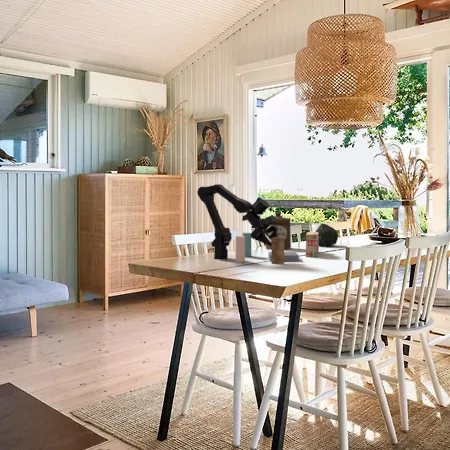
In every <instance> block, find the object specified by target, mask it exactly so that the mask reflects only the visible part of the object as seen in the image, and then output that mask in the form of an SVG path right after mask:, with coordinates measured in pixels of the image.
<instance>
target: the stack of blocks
mask: <svg viewBox="0 0 450 450" xmlns="http://www.w3.org/2000/svg"><path fill="white" fill-rule="evenodd" d="M319 247H320V246H319V237H318V232H316V231H315V232H312V231H310V232H309V231H308V232H306V234H305V257H306V258H318V257H319V249H320V248H319Z"/></svg>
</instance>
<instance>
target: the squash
mask: <svg viewBox="0 0 450 450" xmlns="http://www.w3.org/2000/svg"><path fill="white" fill-rule="evenodd" d="M315 232H318V237H319V247H325V246H327V247H329V246H330V247H332V246H334V245H336V244H337V242H338V238H339V234H338V231H337V230H336V229H335V228H333V227H332V226H330V225H328V224H326V223H323V222H322V223H320V225H319V227H317V228H316V230H315Z"/></svg>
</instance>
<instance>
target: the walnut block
mask: <svg viewBox="0 0 450 450" xmlns="http://www.w3.org/2000/svg"><path fill="white" fill-rule="evenodd" d="M271 252H272V261H271V264H272V265H283V264H285V261H284V252H285V250H284V238H283V237H274V238H272V250H271Z"/></svg>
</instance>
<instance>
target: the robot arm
mask: <svg viewBox="0 0 450 450" xmlns="http://www.w3.org/2000/svg"><path fill="white" fill-rule="evenodd" d="M196 193H197V196H198V198H199V199H200V201H201V202H202V203H203V204H204V205H205V207H206V210H207V212H208V215H209V217H210V220H211V223H212V226H213V228H214V239H213V240H212V241H211V243H210V244H211V247H212V248H213V247H214V251H213V252H214V254H213V255H214V257H213V259H214V260H215V259H216V260H217V259H218V260H219V259H221V260H224V259H225V260H227V258H228V253H229V252H228V251H229V250H228V248H227V247H229V245H230V243H231V242H232V238H233V237H232V235H233V234H232V232H231V230H230V227H226V226H225V225H224V223H223V220H222V218H221V215H220V213H219V211H218V208H217V206H216V203H215V195H216V194H217V195H219V196H221V197H222V198H223V199H225V200H226V201H227V202H229V203H230V204H231V205H232V206H233V209H235V210H236V212H237V213H238V214H242V217H241V218H242V219H241V220H242V222H245V221H247V222H248V223H249V224H250V225H251V226H250V227H251V229H253V230H252V232H250V233H251V240H255V241H257V242H259V243H261V244H262V243H263V244H264V245H265V246H266V245H268V246H271V243H270V241H269V240H268V238H270V239H271V240H272V238H274V237H278V235H277V231H278V229H279V228H278V227H277V226H276V225H273V226H270V224H272V223H274V222H276V217H275V216H276V215H274V214H271V215H269V216H267V217H265V218H262V217H260V216H259V215H261V216H262V215H264V213H265V212H266V211H267V210H268V208H270V204H269V202H268V201H266V200H265V199H263V198H262V197H257V199H256V200H255V201H254V203H251V201H248V200H247V199H243V198H240V197H238V196H237V195H236V194H235V193H233V192H232V191H230V190H229V189H227V188H226V187H224V185H223V184H222V183H220V184H219V183H215V184H213V185H209V186H200V187H198V189H197V191H196ZM243 214H244V215H243ZM269 226H270V227H269ZM268 227H269V228H268ZM266 235H267V236H268V238H267V237H266Z"/></svg>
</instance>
